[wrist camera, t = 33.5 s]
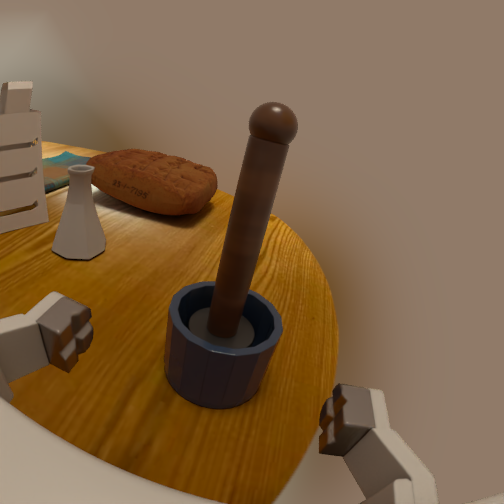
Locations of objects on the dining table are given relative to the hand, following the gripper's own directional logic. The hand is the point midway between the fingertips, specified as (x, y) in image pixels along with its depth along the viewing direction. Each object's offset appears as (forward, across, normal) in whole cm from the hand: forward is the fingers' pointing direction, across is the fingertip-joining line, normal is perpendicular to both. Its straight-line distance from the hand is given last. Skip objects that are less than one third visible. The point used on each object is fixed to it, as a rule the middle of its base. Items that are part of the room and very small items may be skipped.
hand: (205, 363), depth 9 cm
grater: (+22, +37, +12) cm, 45 cm away
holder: (+10, 0, +12) cm, 16 cm away
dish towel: (+44, +47, +12) cm, 65 cm away
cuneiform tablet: (+42, +21, +12) cm, 49 cm away
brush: (+10, +1, +11) cm, 15 cm away
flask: (+21, +21, +12) cm, 32 cm away
